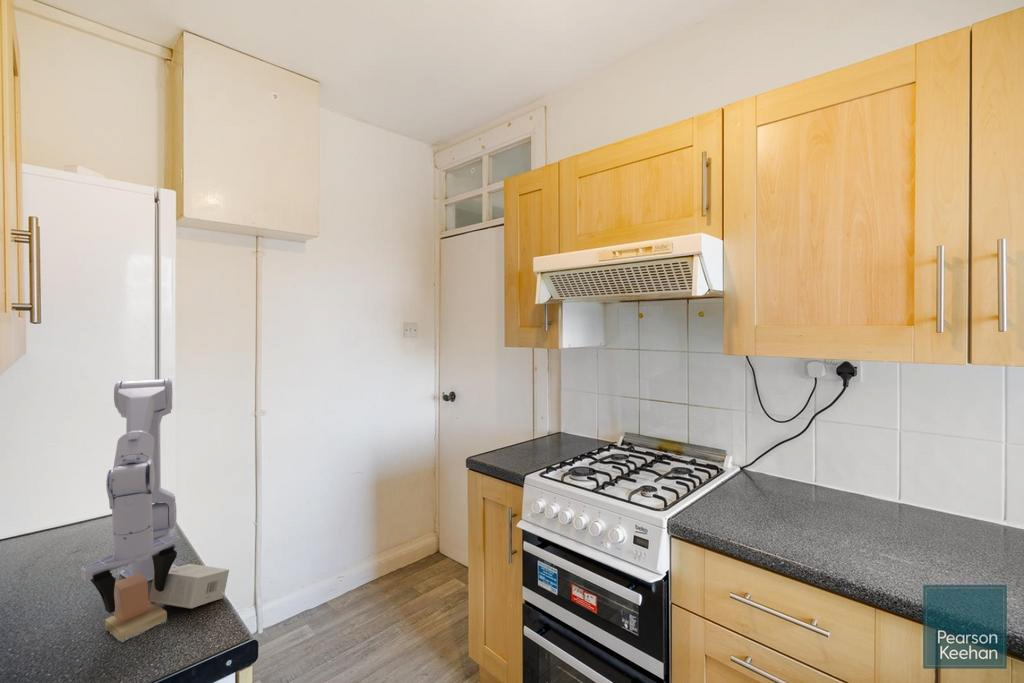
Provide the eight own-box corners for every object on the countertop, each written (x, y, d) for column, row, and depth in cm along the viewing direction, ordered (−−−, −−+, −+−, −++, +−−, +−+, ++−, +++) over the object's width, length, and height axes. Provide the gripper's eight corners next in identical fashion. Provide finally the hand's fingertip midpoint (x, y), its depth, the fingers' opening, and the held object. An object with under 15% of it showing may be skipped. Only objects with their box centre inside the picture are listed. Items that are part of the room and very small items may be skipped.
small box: (224, 598, 95) (183, 591, 97) (230, 568, 96) (189, 563, 99) (190, 609, 87) (146, 602, 90) (196, 577, 89) (153, 571, 91)
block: (114, 614, 86) (113, 582, 86) (140, 603, 90) (139, 573, 90) (122, 621, 84) (120, 589, 84) (148, 610, 88) (147, 579, 87)
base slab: (105, 629, 85) (105, 619, 85) (150, 609, 91) (150, 599, 91) (121, 643, 81) (120, 632, 81) (167, 621, 87) (166, 611, 87)
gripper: (90, 550, 77) (93, 629, 78) (187, 518, 90) (189, 587, 90) (75, 540, 81) (78, 615, 81) (170, 511, 93) (172, 576, 94)
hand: (135, 599), depth 86 cm, fingers open, 7 cm apart
